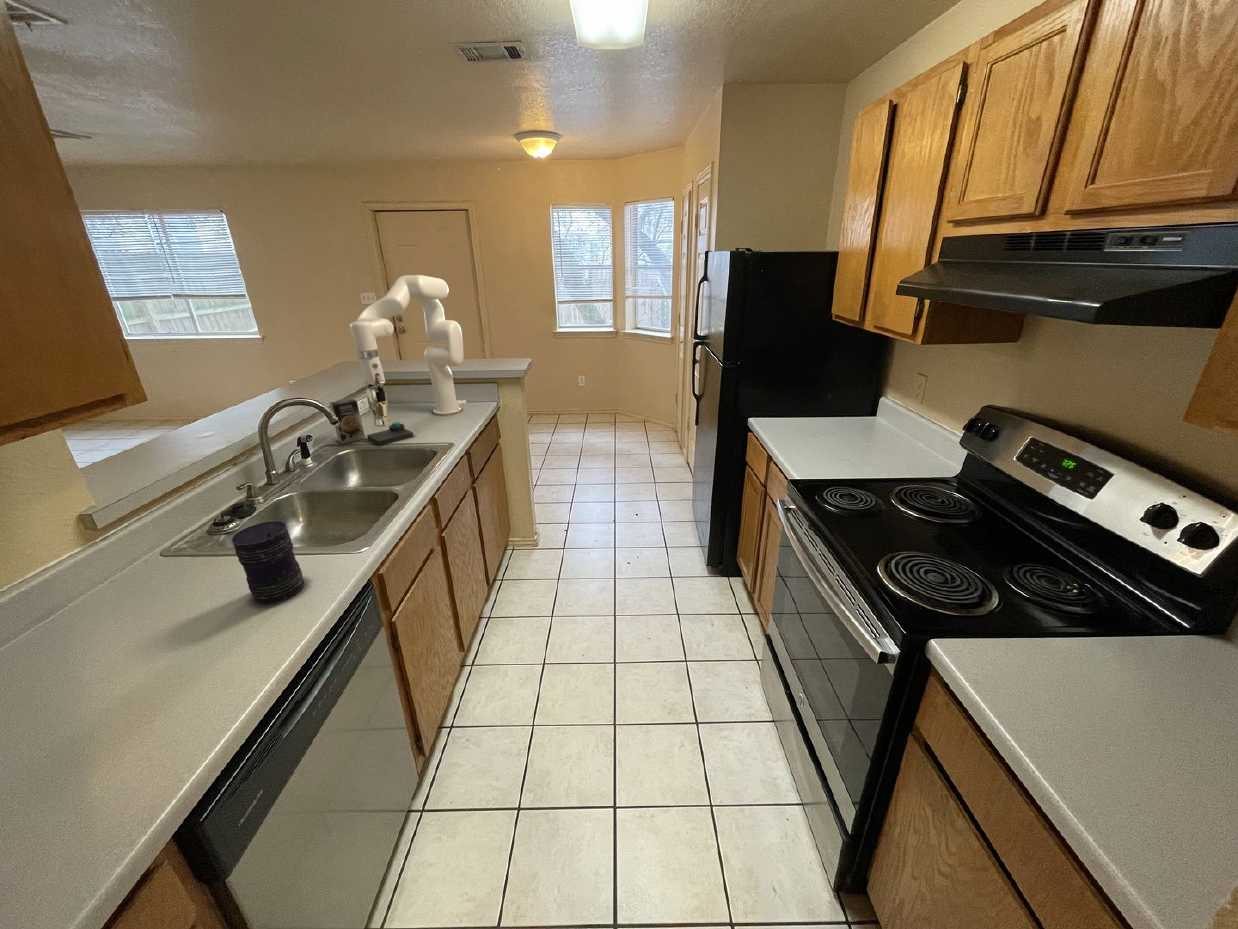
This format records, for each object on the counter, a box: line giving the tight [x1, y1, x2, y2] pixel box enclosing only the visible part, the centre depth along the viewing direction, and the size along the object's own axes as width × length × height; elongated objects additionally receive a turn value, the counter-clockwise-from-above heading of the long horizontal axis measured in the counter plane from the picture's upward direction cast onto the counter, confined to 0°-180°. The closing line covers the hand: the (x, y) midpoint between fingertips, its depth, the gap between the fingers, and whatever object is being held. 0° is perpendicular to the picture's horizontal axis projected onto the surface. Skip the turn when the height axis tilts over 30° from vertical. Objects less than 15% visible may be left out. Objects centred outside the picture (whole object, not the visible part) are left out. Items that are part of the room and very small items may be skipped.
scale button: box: [391, 421, 401, 427], centre depth 213 cm, size 3×3×2 cm
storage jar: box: [231, 520, 306, 606], centre depth 109 cm, size 10×10×15 cm
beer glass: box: [365, 386, 392, 427], centre depth 201 cm, size 7×7×15 cm
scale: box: [366, 423, 414, 446], centre depth 209 cm, size 14×12×4 cm
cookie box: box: [329, 398, 366, 444], centre depth 206 cm, size 9×6×16 cm
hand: (377, 399), depth 200 cm, fingers closed on beer glass, 7 cm apart
